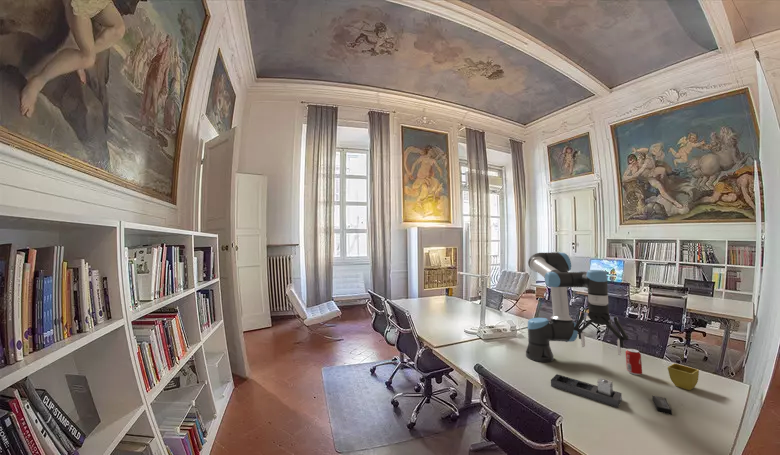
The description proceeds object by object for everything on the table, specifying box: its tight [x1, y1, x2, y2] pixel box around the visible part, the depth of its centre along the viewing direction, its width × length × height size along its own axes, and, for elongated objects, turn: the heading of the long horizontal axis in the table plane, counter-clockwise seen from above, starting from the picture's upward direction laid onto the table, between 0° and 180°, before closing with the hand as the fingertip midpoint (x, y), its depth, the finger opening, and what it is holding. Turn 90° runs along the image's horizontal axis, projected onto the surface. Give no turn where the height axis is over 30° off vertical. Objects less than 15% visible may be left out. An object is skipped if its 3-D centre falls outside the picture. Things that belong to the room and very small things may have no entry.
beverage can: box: [625, 348, 643, 376], centre depth 151 cm, size 6×6×12 cm
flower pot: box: [667, 363, 700, 391], centre depth 135 cm, size 9×9×9 cm
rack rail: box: [550, 373, 623, 409], centre depth 132 cm, size 26×9×3 cm, turn 43°
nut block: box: [596, 377, 614, 398], centre depth 126 cm, size 4×4×8 cm
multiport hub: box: [651, 395, 673, 416], centre depth 119 cm, size 4×11×2 cm, turn 145°
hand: (600, 350), depth 129 cm, fingers open, 13 cm apart
